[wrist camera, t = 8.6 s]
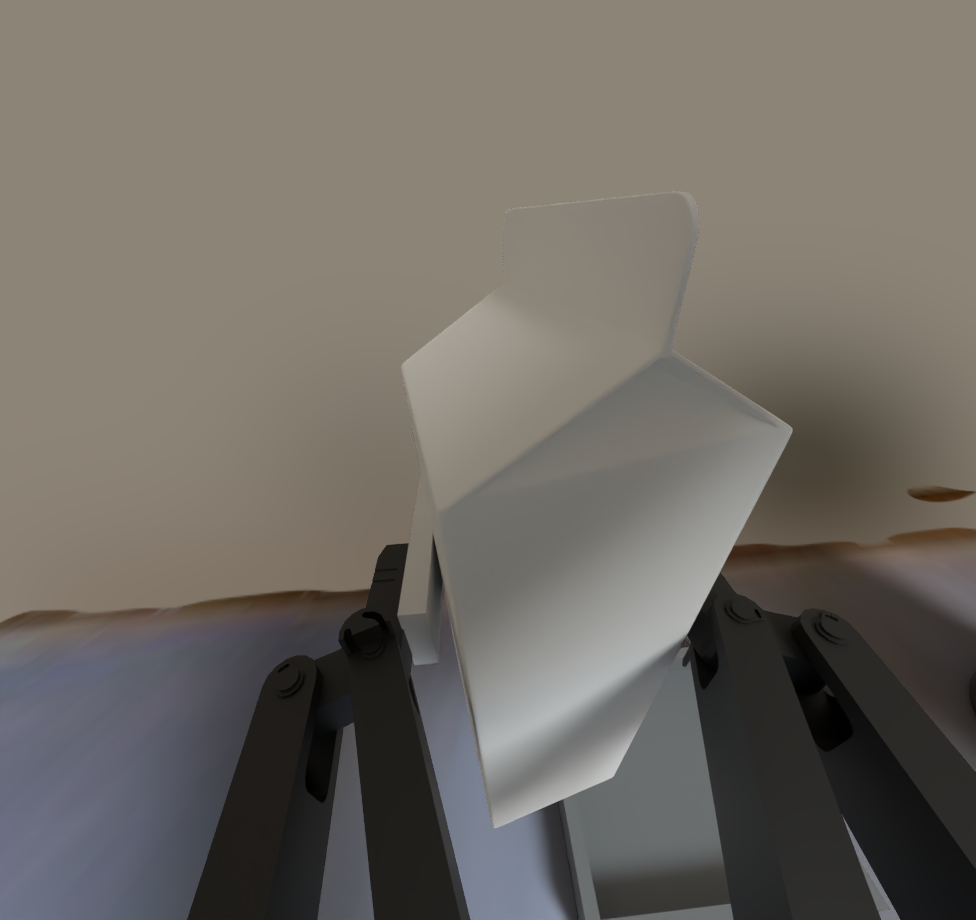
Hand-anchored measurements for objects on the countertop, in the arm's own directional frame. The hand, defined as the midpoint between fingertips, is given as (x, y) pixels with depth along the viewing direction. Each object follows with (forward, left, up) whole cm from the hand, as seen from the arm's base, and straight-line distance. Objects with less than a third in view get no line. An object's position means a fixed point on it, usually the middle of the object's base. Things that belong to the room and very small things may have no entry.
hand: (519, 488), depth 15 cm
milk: (0, +5, -12) cm, 13 cm away
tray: (-10, +5, -24) cm, 26 cm away
